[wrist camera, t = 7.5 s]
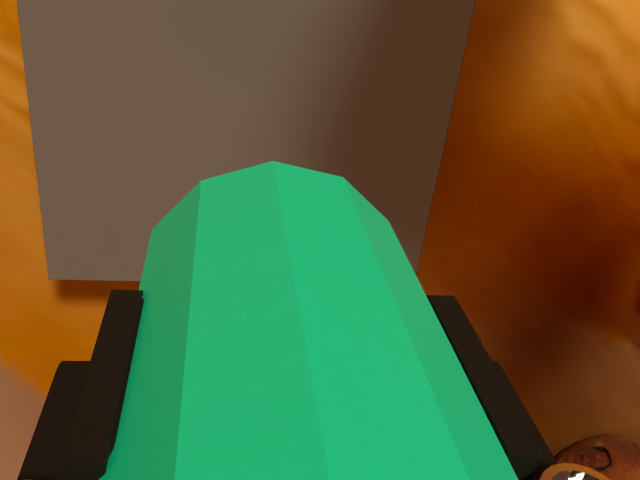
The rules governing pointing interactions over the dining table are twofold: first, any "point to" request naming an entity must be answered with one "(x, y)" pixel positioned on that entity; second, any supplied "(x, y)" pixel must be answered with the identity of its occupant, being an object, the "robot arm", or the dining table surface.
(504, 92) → the dining table surface
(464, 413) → the candle
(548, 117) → the dining table surface
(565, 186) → the dining table surface
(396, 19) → the plinth
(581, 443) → the bread roll
